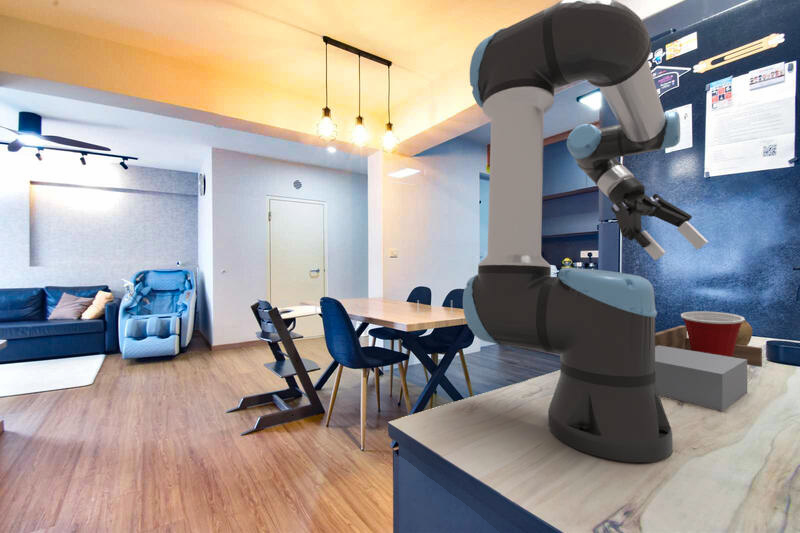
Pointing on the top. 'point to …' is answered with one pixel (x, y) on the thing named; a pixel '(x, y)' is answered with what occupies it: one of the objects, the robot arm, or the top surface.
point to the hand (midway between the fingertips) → (682, 251)
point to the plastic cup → (712, 331)
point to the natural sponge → (744, 334)
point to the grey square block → (700, 377)
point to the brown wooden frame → (679, 340)
